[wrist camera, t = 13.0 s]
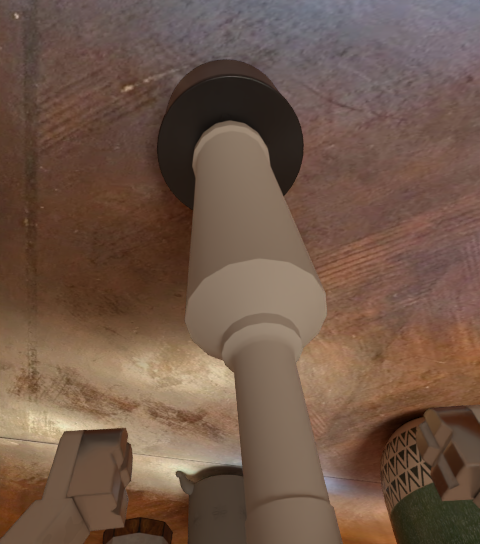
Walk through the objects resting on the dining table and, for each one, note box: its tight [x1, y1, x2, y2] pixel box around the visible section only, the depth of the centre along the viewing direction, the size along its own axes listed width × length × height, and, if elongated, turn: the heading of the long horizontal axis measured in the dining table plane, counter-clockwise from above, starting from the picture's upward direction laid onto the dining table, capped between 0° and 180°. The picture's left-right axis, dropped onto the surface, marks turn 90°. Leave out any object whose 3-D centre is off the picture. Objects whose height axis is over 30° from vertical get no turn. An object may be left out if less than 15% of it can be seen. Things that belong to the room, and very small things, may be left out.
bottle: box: [185, 120, 343, 544], centre depth 17 cm, size 5×5×25 cm
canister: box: [157, 59, 304, 210], centre depth 30 cm, size 10×10×7 cm
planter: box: [380, 417, 480, 544], centre depth 55 cm, size 20×20×21 cm
